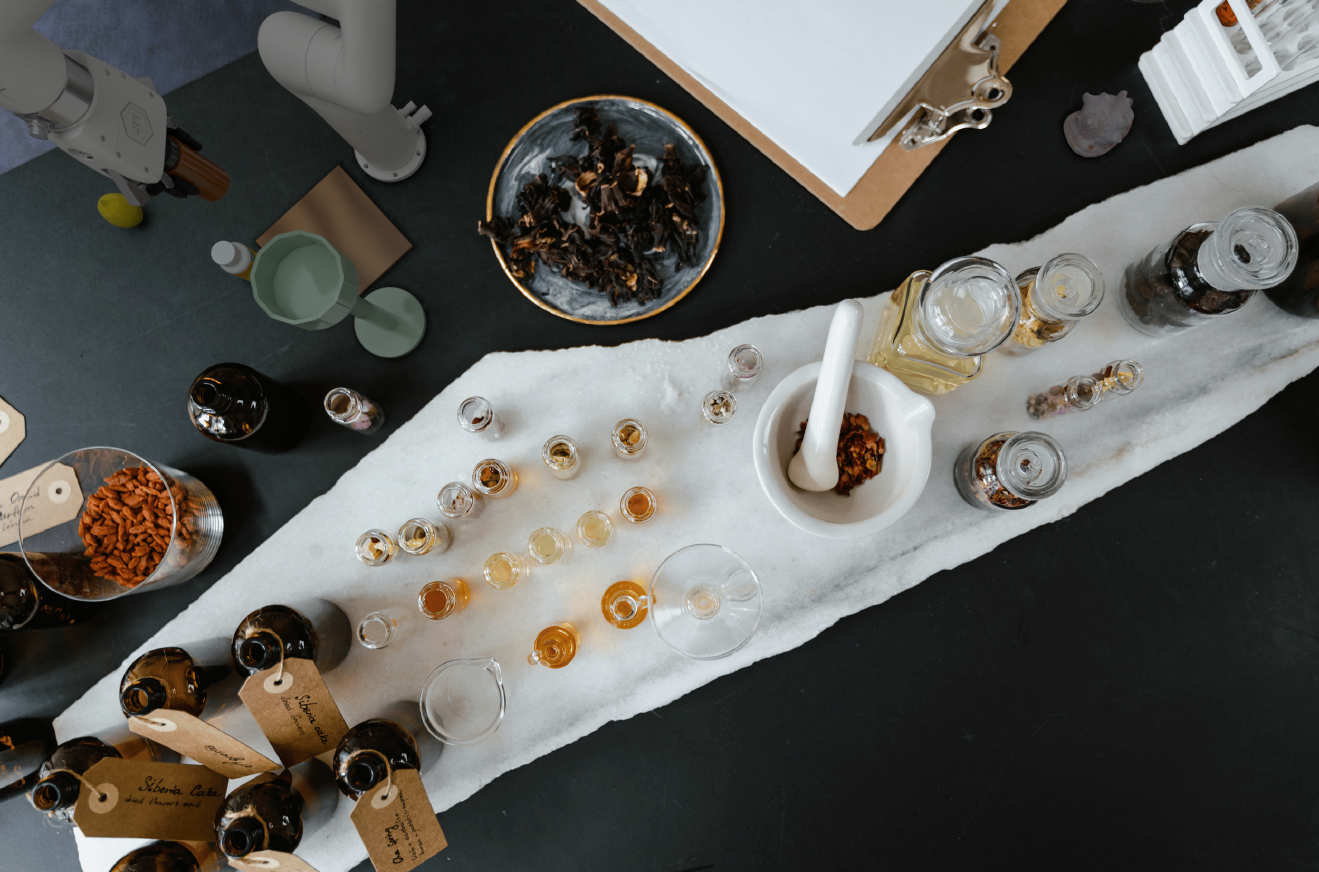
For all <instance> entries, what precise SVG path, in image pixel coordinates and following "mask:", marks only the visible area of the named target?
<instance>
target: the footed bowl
mask: <svg viewBox="0 0 1319 872" xmlns="http://www.w3.org/2000/svg"><path fill="white" fill-rule="evenodd" d="M257 252H259V253H257V255H256V258H255V261H254V264H253V267H252V270H251V273H250V275H251V276H250V280H251V282H250V284H251V289H252V294H253V299H254V301H255V302H256V303H257V304H258V306H260V308H261V309H262V310H263V311H264V312H265V314H267V316H269V318H271V319H273V320H276V321H279V322H281V323H284V324H287V325H289V326H293V327H296V328H298V329H299V328H300V329H303V330H306V331H319V330H325V329H329V328H331V327H333V326H335V325H338V323H341V322H342V321H343V320H345V318H346V317H347V316H348V315H351V316H353V317H354V330H355V335H356V337H357V339H358V341H359V343H360V344H361V345H362V347H363V348H364V349H365V350H367V351H368V352H369V353H371V354H373V355H375V356H377V357H381V358H385V359H396V358H400V357H405V356H406V355H408V354H410V353H412V351H414V350H415V349H416V348H417V347H418V346H419V345H420V343H421V342H422V340H423V338H424V336H425V333H426V329H427V317H426V312H425V310H424V309H425V308H424V307H423V305H422V303H421V302H420V301H419V299H418V298H417V297H416V296H415V295H414V294H412V293H411V292H409V291H407V290H406V289H402V288H400V287H395V286H394V287H393V286H385V287H381V288H378V289H376V290H373V291H372V292H370V293H368V295H366V296H365V297H364V298H363V296H361V295H360V296H358V291H359V279H358V274H357V270H356V268H355V266H354V264H353V262H352V260H351V259H350V258H349V257H348V255H346V254H345V253H344V252H343V251H342V250H341V249H340V247H338V246H337V245H335V244H334V243H332V242H331V241H329V240H327V239H326V238H324V237H323V236H320V235H316V234H313V233H310V232H306V231H303V230H296V231H292V232H287V233H283V234H279V235H277V236H275V237H273V238H272V239H271V240H270V241H269V242H268V243H267V244H266V245H265V246H264V247H263V248H261V247H260V249H259V250H258V251H257Z"/></svg>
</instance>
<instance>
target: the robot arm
mask: <svg viewBox="0 0 1319 872" xmlns="http://www.w3.org/2000/svg"><path fill="white" fill-rule="evenodd" d="M56 1H57V0H0V107H1V108H3V109H5V110H7V111H9V112H11V113H12V115H13V116H14V117H17V118H18V119H20V120H22V121H24V122H25V123H26V125H27V128H28V129H29V130H28V135H29V136H30V137H32V138H34V139H37V140H41V141H48V140H49V142H51V143H52V144H54V145H55V146H57V148H59V149H60V150H62V151H63V152H64V153H66V154H68V155H69V156H71V157H72V158H74V159H76V160H77V161H78V162H80V163H82V164H84V165H85V166H87V167H88V168H90V169H91V170H93V171H95V172H97V173H99V174H101V175H102V176H105V177H107V178H109V179H111V180H113V182H114V183H115V186H117V188H118V190H119V191H120V193H121V194H123V195H124V197H125V198H126V200H127V201H128V203H129V204H130V205H131V206H140V207H145V206H146V205H147V204H148V203H149V202H150V201H151V200H152V199H153V197H156V196H158V195H160V194H161V193H163V192H164V193H166V194H168V195H169V196H171V197H174V198H177V199H187V198H188V196H195V195H200V190H199V189H198V188H196V187H195V186H193V185H191V184H189V183H188V182H186V181H184V180H182V179H181V178H179V177H177V176H168V175H167V174H166V173H165V172H164V171H163V168H164V157H165V143H166V135H170V136H173V137H175V138H176V139H178V140H179V141H181V142H182V143H184V144H186V145H187V146H189V147H190V148H192V149H193V150H195V151H197V152H201V151H202V150H203V144H202V143H200V142H199V141H197V140H196V139H194V138H193V137H192V135H191V134H189V133H188V132H187V131H185V130H184V129H182V128H181V127H179V126H178V122H177V120H176V119H175V118H174V117H172V116H170V115H169V113H168V111H167V106H166V102H165V100H164V98H163V97H162V96H161V95H160V94H159V93H158V92H157V89H156V86H155V83H154V81H153V79H152V78H151V77H150V76H141V75H140V76H139V75H138V76H132V75H130V74H128V73H126V72H125V71H123V70H121V69H119V68H117V67H115V66H113V65H111V64H109V63H108V62H105V61H104V60H101V59H99V58H98V57H95V56H93V55H91V54H88V53H85V52H83V51H81V50H78V49H74V48H73V49H71V48H70V49H64V48H63V47H61V46H60V45H59V44H57V43H56V42H54V41H52V40H51V39H49V38H48V37H46V35H44V34H42V33H40V32H39V31H38V30H36V29H34V28H33V27H34V25H35V24H36V23H37V22H38V21H39V20H40V19H41V18H42V17H43V15H45V13H46V12H47V11H48V10H49V9H50V8H51V7H52V6H53V5H54V4H55V3H56ZM289 1H290V2H292V3H294V4H295V5H299V6H301V7H304V8H306V9H308V10H311V11H313V12H316V13H318V14H322V15H323V16H326V17H329V18H331V19H334V20H337V21H339V25H340V27H338V26H337V25H334V24H332V23H329V22H326V21H323V20H321V19H319V18H316V17H313V16H310V15H307V14H305V13H301V12H295V11H291V10H281V11H276V12H274V13H272V14H269V15H268V16H267V17H266V18H265V19H264V20H263V21H262V23H261V25H260V26H259V29H258V33H257V49H258V53H259V56H260V58H261V62H262V63H263V65H264V67H265V68H266V70H267V71H268V73H269V74H270V76H271V77H272V78H273V79H274V80H275V81H276V82H277V83H279V84H280V85H281V87H283V88H284V89H285V90H287V91H288V92H290V93H291V94H292V95H294V96H295V97H297V98H298V99H299V100H301V101H302V102H303V103H305V104H306V105H307V106H309V107H310V109H312V110H314V112H315V113H317V114H318V115H319V116H320V117H321V118H322V119H323V120H324V121H325V122H326V123H327V124H328V125H329V126H330V127H331V128H332V129H333V130H334V131H335V132H336V133H337V134H339V135H340V136H341V137H342V139H343V140H344V141H346V143H348V145H350V146H351V147H352V148H353V149H354V155H355V159H356V161H357V164H359V166H360V168H361V169H362V170H363V171H364V173H366V174H367V175H369V176H370V177H371V178H373V179H375V180H377V181H380V182H383V183H396V182H400V181H403V180H406V179H407V178H409V177H411V176H412V175H413V174H415V173H416V172H417V171H418V170H419V168H420V167H421V166H422V164H423V162H424V160H425V157H426V153H427V141H426V135H425V134H424V131H423V129H422V128H421V125H422V124H423V123H424V122H426V121H427V120H428V119H429V118H430V117H432V116H433V113H432V111H431V110H430V109H429V107H428V106H427V105H426V104H424V105H422V106H421V107H419V109H418V110H416V109H417V108H418V106H417V104H415V103H414V102H413V101H412V100H410V101H409V102H408V103H406V104H405V106H404V107H403V108H399V109H397V108H396V107H395V106H394V105H393V104H391V101H392V98H393V96H394V92H395V85H396V69H397V68H396V66H397V65H396V64H397V63H396V59H397V48H396V47H397V37H396V36H397V0H289ZM415 110H416V112H415V113H414V114H413V115H412V116H411V115H410V114H411V113H413V112H414V111H415ZM136 182H139V183H136Z"/></svg>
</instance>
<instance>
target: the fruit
mask: <svg viewBox="0 0 1319 872" xmlns="http://www.w3.org/2000/svg"><path fill="white" fill-rule="evenodd" d="M97 210H98V212H99V213H100V215H101V216H102V218H103V219H105V221H107V222H108V223H110V224H111V225H113V226H116V227H118V228H125V229H129V228H130V229H131V228H133V227H136V226H138V225H139V224H140V223H142V222H143V221H144V217H143V216H144V213H143V209H142V206H131V205H130V204H129V203H128V201H127V200H126V198H125V197H124V195H123V194H122V193H119V192H118V193H117V192H110V193H105V194H104V195H102V196H101V197H99V199H98V201H97Z"/></svg>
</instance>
